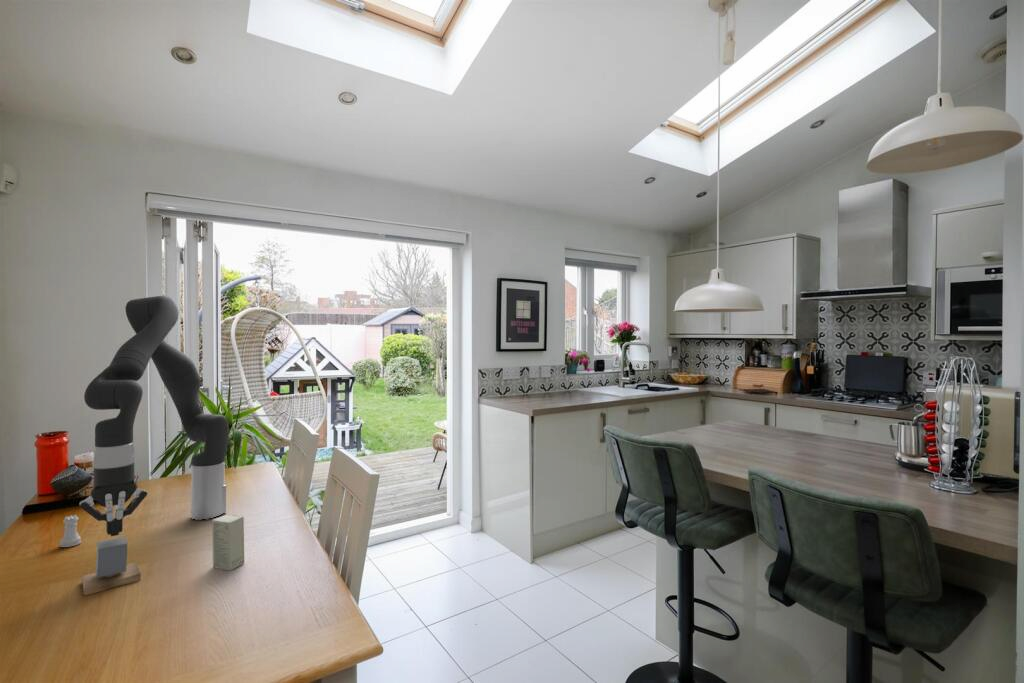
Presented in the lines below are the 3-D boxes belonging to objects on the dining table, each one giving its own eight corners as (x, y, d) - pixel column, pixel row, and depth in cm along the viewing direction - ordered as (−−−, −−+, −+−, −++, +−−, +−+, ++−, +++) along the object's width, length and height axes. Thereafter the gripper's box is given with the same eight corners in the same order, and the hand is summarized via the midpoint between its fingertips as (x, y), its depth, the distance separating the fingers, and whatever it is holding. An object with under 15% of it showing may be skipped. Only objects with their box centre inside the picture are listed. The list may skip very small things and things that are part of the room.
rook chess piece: (67, 549, 129) (68, 520, 129) (55, 547, 130) (55, 518, 130) (85, 542, 133) (86, 514, 133) (73, 541, 134) (73, 513, 134)
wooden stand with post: (135, 568, 118) (136, 534, 118) (140, 580, 113) (141, 544, 113) (81, 582, 111) (82, 546, 111) (84, 595, 105) (84, 557, 106)
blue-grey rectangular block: (124, 563, 116) (125, 536, 116) (126, 571, 112) (127, 543, 112) (95, 569, 112) (97, 541, 112) (96, 577, 108) (98, 549, 108)
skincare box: (244, 563, 121) (245, 516, 122) (229, 571, 117) (230, 522, 117) (226, 559, 123) (227, 513, 124) (210, 567, 119) (211, 519, 119)
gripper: (146, 455, 120) (146, 522, 120) (75, 465, 111) (75, 538, 111) (151, 460, 115) (151, 531, 115) (78, 471, 106) (78, 548, 106)
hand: (114, 534), depth 113 cm, fingers closed
